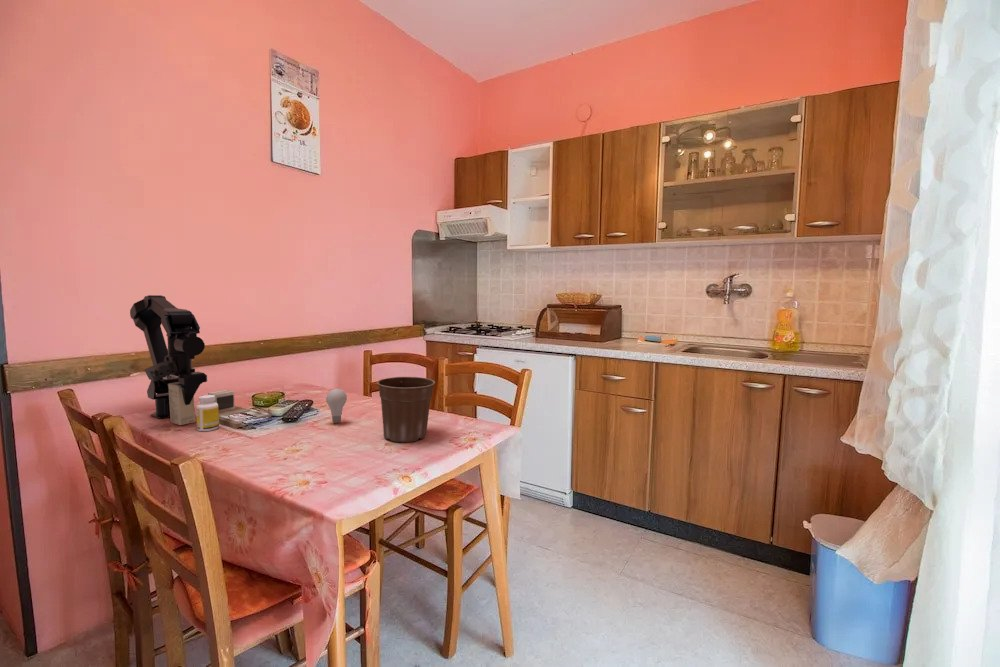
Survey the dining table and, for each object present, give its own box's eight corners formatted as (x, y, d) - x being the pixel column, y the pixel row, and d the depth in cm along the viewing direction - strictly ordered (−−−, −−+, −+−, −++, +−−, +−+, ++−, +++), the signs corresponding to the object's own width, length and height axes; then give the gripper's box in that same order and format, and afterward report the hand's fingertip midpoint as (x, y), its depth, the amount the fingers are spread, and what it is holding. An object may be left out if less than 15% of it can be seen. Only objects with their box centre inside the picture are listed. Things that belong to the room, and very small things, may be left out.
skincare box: (195, 422, 137) (194, 383, 135) (179, 426, 133) (178, 385, 132) (185, 418, 140) (183, 380, 139) (169, 422, 136) (167, 382, 135)
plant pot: (429, 426, 140) (429, 375, 138) (439, 443, 124) (439, 386, 123) (375, 429, 134) (375, 377, 133) (378, 448, 119) (378, 388, 118)
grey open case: (196, 416, 143) (195, 393, 142) (231, 409, 152) (231, 387, 152) (236, 429, 131) (235, 404, 131) (271, 420, 141) (271, 397, 140)
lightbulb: (338, 427, 136) (338, 391, 135) (321, 424, 138) (321, 389, 137) (351, 421, 142) (350, 387, 141) (335, 419, 144) (334, 385, 143)
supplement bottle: (223, 426, 133) (222, 394, 132) (209, 432, 128) (208, 398, 127) (206, 425, 134) (205, 393, 133) (192, 431, 129) (191, 397, 128)
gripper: (133, 352, 132) (136, 403, 134) (164, 358, 123) (166, 414, 124) (175, 348, 142) (177, 396, 143) (207, 354, 132) (209, 405, 134)
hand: (181, 403), depth 136 cm, fingers closed on skincare box, 6 cm apart
